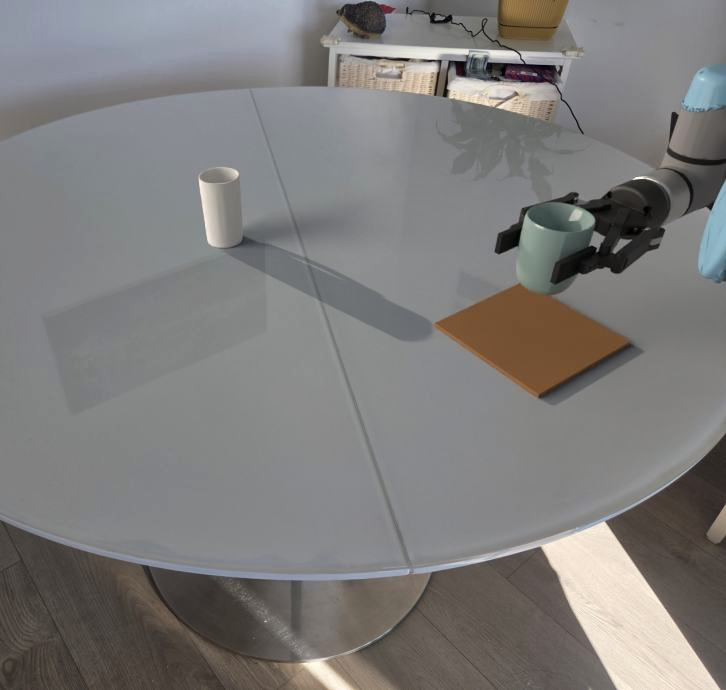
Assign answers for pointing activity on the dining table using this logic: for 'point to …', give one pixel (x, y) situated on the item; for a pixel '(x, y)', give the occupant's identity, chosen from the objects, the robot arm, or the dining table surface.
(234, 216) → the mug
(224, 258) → the dining table surface
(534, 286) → the cup
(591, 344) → the cork mat
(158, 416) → the dining table surface
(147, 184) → the dining table surface
